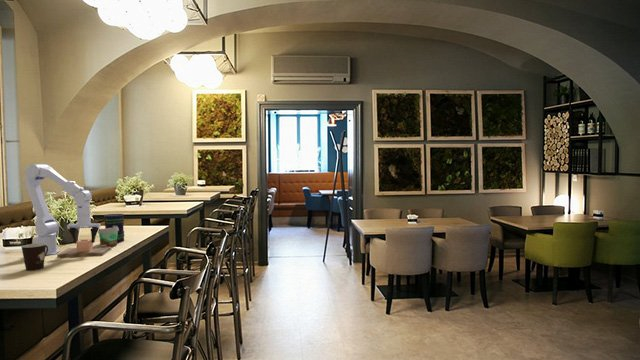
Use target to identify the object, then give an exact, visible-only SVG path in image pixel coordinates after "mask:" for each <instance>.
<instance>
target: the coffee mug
mask: <svg viewBox="0 0 640 360" xmlns="http://www.w3.org/2000/svg"><path fill="white" fill-rule="evenodd" d="M45 247H46V248H47V250H46V253H45ZM21 251H22V256H23V262H24V267H25V271H27V272H28V271H29V272H31V271H40V270H43V269H44V268H45V256H47V255H46V254H47V252H48V246H46V244H43V243H38V244H33V243H29V244H24V245H22V246H21Z"/></svg>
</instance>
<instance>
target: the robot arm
mask: <svg viewBox="0 0 640 360" xmlns="http://www.w3.org/2000/svg"><path fill="white" fill-rule="evenodd" d="M23 172H24V175H25V181H24V182H25V187H26V190H27V192H28V195H29V197H30V198H29V199H30V201H31V205H32V207H33V211H34V214H35V216H36V220H35V221H34V225H35V227H34V231H35V233H36V236H34V237H33V240H32V244H38V243H43V244H46V246H48V252H47V254H46V255H45V256H49V255H57V254H59V253H61V250H59V249H58V246H57V245H58V243H57V234H58V233H57V232H58V231H59V229H60V225H59V223H58V222H57V221H56V218H55V217H54V216H52V214H51V213H50V211H49V209H48V205H47V202H46V199H45V196H44V193H43V191H42V187H41V183H42V181H43V180H44V179H47V178H48V179H50V181H51V180H52V181H53V182H55V183H57V184H58V185H60V186H61V187H62V190H63V191H64V192H65V193H67V194H68V195H69V196H71V197H72V198H73V200H74V202H75V204H76V220H77V222H76V223H72V224H71V223H70V224H67V225H66V226H67V229H68V231H69V234H70V235H71V237H72V239H73V241H74V244H76V245H77V243H76V242H77V241H78V238H79V237H78V233H79V229H90V234H91V235H90V236H91V239H92V243H93V244H94V243H95V240H96V237H97V234H98V230H99V229H101V226H102V225H101V223H96V222H95V223H94V222H93V223H92V221H91V200H92V198H93V194H92V192H91V191H90V190H88V189H84V187H82V186H79V185H78V184H77V183H76V181H74V180H73V181H72V180H67V179H65V178H64V177H63V176H62V175H60V174H59V173H58V172H57V171H56V170H55V169H54V168H53V167H52V166H50V165H48V164H46V163H39V164H34V163H32V164H31V163H30V164H29V165H27V166H26V168H25V169H24V170H23ZM46 250H47V248H46V247H45V253H46Z"/></svg>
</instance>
